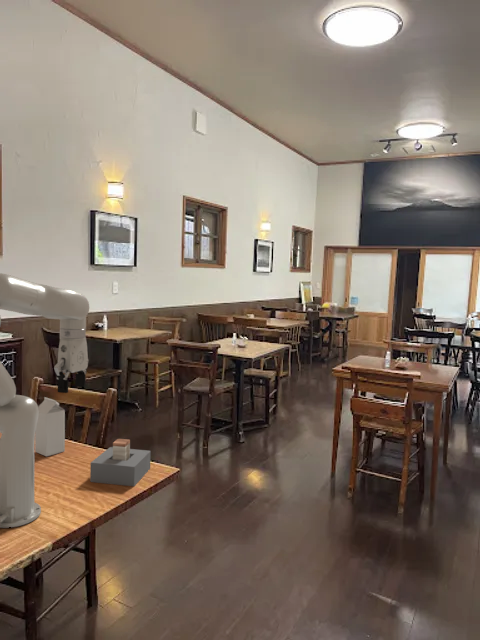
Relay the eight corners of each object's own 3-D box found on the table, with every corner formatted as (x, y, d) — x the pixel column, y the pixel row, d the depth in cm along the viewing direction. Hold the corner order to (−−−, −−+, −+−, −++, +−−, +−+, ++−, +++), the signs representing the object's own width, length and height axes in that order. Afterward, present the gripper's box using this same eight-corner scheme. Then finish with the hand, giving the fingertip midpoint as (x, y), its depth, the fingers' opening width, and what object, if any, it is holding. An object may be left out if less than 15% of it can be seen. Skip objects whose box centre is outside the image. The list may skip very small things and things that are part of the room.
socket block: (134, 486, 144) (134, 466, 144) (90, 481, 146) (90, 462, 146) (150, 468, 158) (150, 450, 158) (109, 464, 160) (110, 447, 160)
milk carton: (46, 457, 165) (46, 402, 164) (35, 452, 169) (35, 399, 168) (64, 451, 171) (65, 399, 169) (53, 447, 175) (53, 395, 173)
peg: (124, 478, 150) (125, 443, 149) (112, 477, 150) (112, 442, 150) (129, 473, 154) (130, 439, 153) (117, 472, 154) (117, 438, 154)
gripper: (68, 337, 139) (67, 396, 140) (98, 332, 156) (97, 385, 157) (44, 336, 141) (44, 394, 142) (76, 331, 157) (76, 383, 158)
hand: (71, 389), depth 149 cm, fingers open, 9 cm apart
